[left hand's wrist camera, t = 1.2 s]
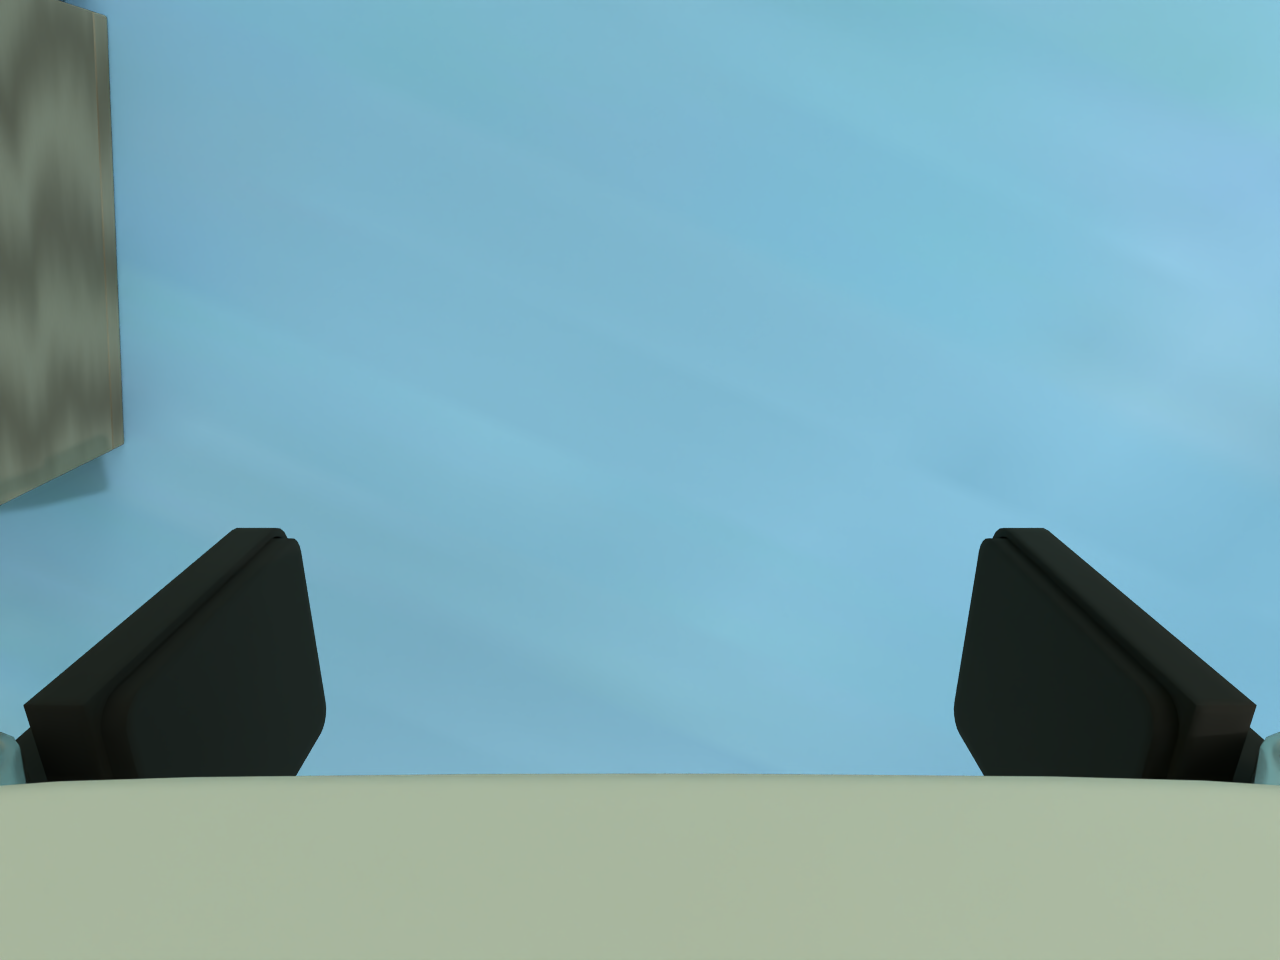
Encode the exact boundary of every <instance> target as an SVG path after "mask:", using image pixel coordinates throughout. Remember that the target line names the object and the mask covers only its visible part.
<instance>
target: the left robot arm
mask: <svg viewBox="0 0 1280 960" xmlns="http://www.w3.org/2000/svg"><path fill="white" fill-rule="evenodd" d="M24 709H25V712H26V715H27V718H28V721H29V724H30V728H29V729H28V730H27V731H25V732H24V733H23V734H22V735H21V736H20V737H19V738H17V739H16V740H15V739H14V737H12V736H10V735H7V734H5V733H2V732H0V960H1280V732H1278V733H1275V734H1273V735H1270V736H1268V737H1266V739H1265V740H1264V739H1262V738H1261V737H1260V736H1259V735H1258V734H1257V733H1256V732H1255V731H1253V730H1252V729H1251V728H1250V724H1251V721H1252V718H1253V715H1254V712H1255V709H1256V704H1254V703H1253V702H1252V701H1251V700H1250V699H1248V698H1247V697H1246V696H1245V695H1244V694H1243V693H1241V692H1240V691H1239V690H1238V689H1237V688H1235V687H1234V686H1233V685H1232V684H1231V683H1229V682H1228V681H1227V680H1226V679H1225V678H1223V677H1222V676H1221V675H1220V674H1219V673H1217V672H1216V671H1215V670H1214V669H1213V668H1212V667H1210V666H1209V665H1208V664H1207V663H1206V662H1204V661H1203V660H1202V659H1201V658H1200V657H1198V656H1197V655H1196V654H1195V653H1194V652H1192V651H1191V650H1190V649H1189V648H1188V647H1186V646H1185V645H1184V644H1183V643H1182V642H1181V641H1179V640H1178V639H1177V638H1176V637H1175V636H1173V635H1172V634H1171V633H1170V632H1169V631H1167V630H1166V629H1165V628H1164V627H1163V626H1161V625H1160V624H1159V623H1158V622H1157V621H1155V620H1154V619H1153V618H1152V617H1151V616H1150V615H1148V614H1147V613H1146V612H1145V611H1144V610H1142V609H1141V608H1140V607H1139V606H1138V605H1136V604H1135V603H1134V602H1133V601H1132V600H1130V599H1129V598H1128V597H1127V596H1126V595H1124V594H1123V593H1122V592H1121V591H1120V590H1119V589H1117V588H1116V587H1115V586H1114V585H1113V584H1111V583H1110V582H1109V581H1108V580H1107V579H1105V578H1104V577H1103V576H1102V575H1101V574H1099V573H1098V572H1097V571H1096V570H1095V569H1093V568H1092V567H1091V566H1090V565H1089V564H1088V563H1086V562H1085V561H1084V560H1083V559H1082V558H1080V557H1079V556H1078V555H1077V554H1076V553H1074V552H1073V551H1072V550H1071V549H1070V548H1068V547H1067V546H1066V545H1065V544H1064V543H1062V542H1061V541H1060V540H1059V539H1058V538H1057V537H1055V536H1054V535H1053V534H1052V533H1051V532H1049V531H1048V530H1046V529H1044V528H1001V529H999V530H998V531H996V533H995V534H994V536H993V538H988V539H985V540H984V541H983V542H982V544H981V546H980V550H979V555H978V561H977V567H976V573H975V579H974V585H973V592H972V598H971V604H970V610H969V616H968V622H967V628H966V635H965V641H964V647H963V653H962V659H961V665H960V672H959V678H958V684H957V690H956V696H955V702H954V717H955V723H956V726H957V729H958V732H959V734H960V735H961V737H962V739H963V741H964V742H965V744H966V746H967V747H968V749H969V751H970V753H971V754H972V756H973V758H974V759H975V761H976V763H977V765H978V766H979V768H980V770H981V771H982V773H983V775H984V776H929V775H814V774H440V775H348V776H296V775H297V773H298V771H299V770H300V768H301V766H302V765H303V763H304V761H305V759H306V758H307V756H308V754H309V753H310V751H311V749H312V747H313V746H314V744H315V742H316V741H317V739H318V737H319V735H320V734H321V732H322V729H323V726H324V723H325V717H326V702H325V696H324V690H323V684H322V678H321V672H320V665H319V659H318V653H317V647H316V641H315V635H314V628H313V622H312V616H311V610H310V604H309V598H308V592H307V585H306V579H305V573H304V567H303V561H302V555H301V550H300V546H299V544H298V542H297V541H296V540H295V539H292V538H287V536H286V534H285V533H284V531H282V530H281V529H279V528H236V529H234V530H232V531H231V532H229V533H228V534H227V535H226V536H225V537H223V538H222V539H221V540H220V541H219V542H218V543H216V544H215V545H214V546H213V547H212V548H210V549H209V550H208V551H207V552H206V553H204V554H203V555H202V556H201V557H200V558H198V559H197V560H196V561H195V562H194V563H192V564H191V565H190V566H189V567H188V568H187V569H185V570H184V571H183V572H182V573H181V574H179V575H178V576H177V577H176V578H175V579H173V580H172V581H171V582H170V583H169V584H167V585H166V586H165V587H164V588H163V589H161V590H160V591H159V592H158V593H157V594H156V595H154V596H153V597H152V598H151V599H150V600H148V601H147V602H146V603H145V604H144V605H142V606H141V607H140V608H139V609H138V610H136V611H135V612H134V613H133V614H132V615H130V616H129V617H128V618H127V619H126V620H125V621H123V622H122V623H121V624H120V625H119V626H117V627H116V628H115V629H114V630H113V631H111V632H110V633H109V634H108V635H107V636H105V637H104V638H103V639H102V640H101V641H99V642H98V643H97V644H96V645H95V646H94V647H92V648H91V649H90V650H89V651H88V652H86V653H85V654H84V655H83V656H82V657H80V658H79V659H78V660H77V661H76V662H74V663H73V664H72V665H71V666H70V667H68V668H67V669H66V670H65V671H64V672H63V673H61V674H60V675H59V676H58V677H57V678H55V679H54V680H53V681H52V682H51V683H49V684H48V685H47V686H46V687H45V688H43V689H42V690H41V691H40V692H39V693H37V694H36V695H35V696H34V697H33V698H31V699H30V700H29V701H28V702H27V703H26V704H24Z"/></svg>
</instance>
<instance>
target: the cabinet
mask: <svg viewBox="0 0 1280 960" xmlns="http://www.w3.org/2000/svg"><path fill="white" fill-rule="evenodd" d="M123 444H124V435H123V410H122V385H121V360H120V335H119V310H118V285H117V260H116V235H115V210H114V185H113V160H112V135H111V110H110V85H109V60H108V35H107V17H106V16H105V15H102V14H99V13H96V12H93V11H90V10H87V9H84V8H81V7H77V6H74V5H71V4H68V3H65V2H62V1H59V0H0V505H2V504H4V503H6V502H8V501H10V500H12V499H14V498H16V497H18V496H20V495H22V494H24V493H26V492H28V491H30V490H32V489H34V488H36V487H38V486H40V485H42V484H44V483H46V482H48V481H50V480H52V479H54V478H56V477H58V476H61V475H63V474H65V473H67V472H69V471H71V470H73V469H75V468H77V467H79V466H81V465H83V464H85V463H87V462H89V461H91V460H93V459H95V458H97V457H99V456H101V455H103V454H105V453H107V452H109V451H111V450H112V449H115V448H117V447H119V446H121V445H123Z"/></svg>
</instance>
